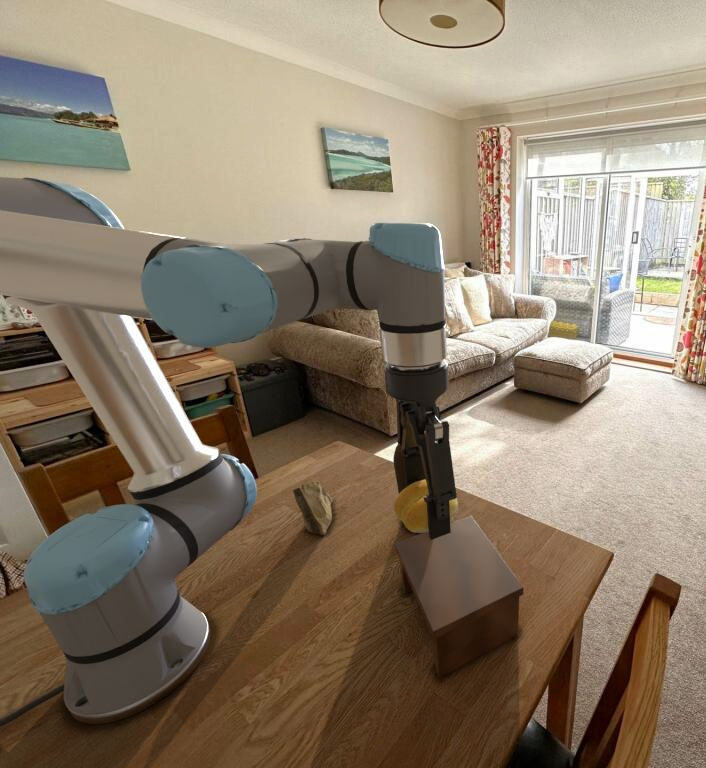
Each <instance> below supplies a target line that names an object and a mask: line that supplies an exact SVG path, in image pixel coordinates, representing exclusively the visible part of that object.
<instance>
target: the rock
mask: <svg viewBox="0 0 706 768" xmlns="http://www.w3.org/2000/svg"><path fill="white" fill-rule="evenodd" d="M292 493H293V496H294V499H295V502H296V504H297V506H298V508H299V511H300V512H301V516H302V519H303V523H304V525H305V529H306V530H307V531H308V532H310V533H313V534H314V535H322V536H325V535H326V534H327V531H328V528H329V526H330V525H331V523H332V518H333V515H332V506H331V505H332V503H333V498H332V497H331V495H330V494H329V493H328V491H327V490H326V489H325V488H324V487H322V486H321V484H320V481H319V480H315V481H307V482H304V483H303V484H301V486H298V487H295V488H293V489H292Z"/></svg>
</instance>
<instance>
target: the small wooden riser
mask: <svg viewBox="0 0 706 768" xmlns="http://www.w3.org/2000/svg"><path fill="white" fill-rule="evenodd" d="M450 529H451V533H448V534H446V535H443V536H440V537H438V538H435V539H432V540H431V539H430V537H429V532H425V533H418V534H416V535H413V536H411V537H407V538H405V539H403V540H400V541H397V542H395V543H394V551H395V553H396V555H397V557H398V559H399V567H400V574H401V584H402V585H401V586H402V589H403V592H404V594H408V593H410V592H413V595H414V597H415V600H416V601H417V604H418V606H419V609H420V611H421V613H422V616H423V619H424V620H425V623H426V625H427V627H428V630H429V632H430V635H431V637H432V639H433V651H434V664H435V671H436V673H437V676H438V678H439V679H440V678H442V677H444V676H446V675H448V674H450V673H451V672H453V671H454V670H457V669H459V668H460V667H462V666H464V665H466V664H469V663H470V662H471V661H473V660H475V659H476V658H479V657H480V656H482V655H485V654H486V653H488V652H489V651H491V650H493V649H495V648H496V647H499V646H500V645H502V644H504V643H505V642H508V641H510V640H511V639H513V638H515V637H516V636H518V635H519V618H520V617H519V616H520V613H519V612H520V597H522V596H524V586H523V584H522V583H521V581H519V579H518V578H517V576H516V575H515V574H514V572H513V570H512V569H511V568H510V567H509V565H508V564H507V563H506V561H505V560H504V558H503V557H502V556H501V554H500V553H499V552H498V550H497V549H496V547H495V546H494V545H493V543H492V542H491V541H490V539H489V538H488V537H487V535H486V533H485V532H484V531H483V530H482V529H481V527H480V525H479V524H478V523H477V521H476V520H475V518H473V516H472V515H469V516H466V517H463V518H460V519H458V520H454V521H452V522H451V523H450Z"/></svg>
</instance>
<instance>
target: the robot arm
mask: <svg viewBox="0 0 706 768" xmlns="http://www.w3.org/2000/svg"><path fill="white" fill-rule="evenodd" d="M445 271H446V266H445V263H444V256H443V245H442V236H441V232H440V229H438V227H436V226H435V225H434V224H432V223H421V222H373V223H372V224H371V225H370V227H369V237H368V240H360V241H349V240H330V239H329V240H328V239H312V238H306V237H303V238H290V239H282V240H281V239H280V240H277V241H274V242H266V243H250V244H249V243H247V244H246V243H244V244H240V243H239V244H238V243H237V244H236V243H225V242H224V243H223V242H217V241H212V240H211V241H210V240H203V239H198V238H197V239H196V238H188V237H183V236H176V235H169V234H161V233H155V232H150V231H149V232H148V231H142V230H137V229H135V230H134V229H129V228H125V227H124V225H123V224H122V222H121V220H120V219H119V218H118V216H117V215H116V214H115V212H113V211H112V209H111V208H110V207H109V206H108V205H107V204H105V203H104V202H103V201H101V200H100V198H98V197H96V196H95V195H93V194H91V193H89V192H87V191H85V190H84V189H82V188H81V187H77V186H74V185H71V184H68V183H62V182H55V181H48V180H44V179H40V178H35V177H23V178H20V177H6V176H0V295H1V296H2V298H3V299H4V300H5V302H6V303H8V304H10V305H12V306H16V307H19V308H21V309H24V310H28V311H29V312H31V313H32V314H33V315H34V316H35V318H36V320H37V322H38V323H39V324H40V326H41V328H42V330H43V331H44V332H45V335H46V336H47V337H48V339H49V341H50V342H51V344H52V345H53V347H54V349H55V350H56V351H57V353H58V355H59V356H60V358H61V359H62V361H63V363H64V364H65V365H66V368H67V369H68V370H69V372H70V374H71V375H72V377H73V378H74V380H75V382H76V384H77V385H78V387H79V388H80V389H81V391H82V393H83V394H84V396H85V398H86V399H87V401H88V402H89V404H90V406H91V407H92V408H93V410H94V412H95V413H96V415H97V417H98V418H99V419H100V421H101V423H102V424H103V426H104V428H105V429H106V430H107V433H108V434H109V436H110V437H111V439H112V440H113V442H114V443H115V445H116V446H117V448H118V450H119V451H120V453H121V455H122V456H123V457H124V460H125V461H126V463H127V465H128V466H129V468H130V469H131V470H132V472H133V475H132V478H131V479H130V481H129V482H128V484H127V486H126V487H127V491H128V492H129V493H130V495H131V496H132V498H133V500H134V501H135V503H134V504H131V503H123V504H114V505H109V506H105V507H102V508H99V509H98V510H96V512H94V513H89V512H88V513H86V514H83V515H80V516H79V517H77V518H74V519H73V520H70V521H69V522H68V523H66V524H64V525H62V526H61V527H60V528H58V529H56V530H55V531H54V532H52V533H51V534H49V536H47V537H46V538H45V539H44V540H43V541H42V542H41V543H40V544H38V546H37V547H36V548H34V550H33V551H32V553H31V554H30V556H29V557H28V559H27V561H26V563H25V568H24V570H23V581H24V584H25V587H26V590H27V592H28V597H29V601H30V604H31V605H32V607H33V608H34V609H35V610H36V611H37V612H38V613H39V615H40V616H41V619H42V620H43V622H44V623H45V625H46V626H47V628H48V630H49V631H50V633H51V635H52V636H53V638H54V640H55V641H56V643H57V645H58V647H59V648H60V650H61V652H62V653H63V655H64V657H65V660H66V661H65V670H64V671H65V672H64V683H63V684H62V685H60V686H58V687H56V688H54V689H52V690H50V691H49V692H47V693H45V694H43V695H41V696H39V697H38V698H36V699H34V700H32V701H30V702H29V703H27V704H25V705H23V706H22V707H20V708H19V709H17V710H15V711H14V712H11V713H9V714H8V715H6V716H4V717H2V718H0V727H3V726H4V725H6V724H8V723H11V722H12V721H14V720H16V719H18V718H19V717H21V716H22V715H24V714H26V713H27V712H29V711H31V710H32V709H34V708H36V707H37V706H39V705H41V704H43V703H45V702H46V701H47V702H48V701H49V700H50V699H52V698H54V697H56V696H57V695H60V694H61V693H63V702H64V704H65V706H66V708H67V711H69V713H70V715H71V716H72V717H73V718H74V719H75V720H76V721H78V722H80V723H83V724H88V725H103V724H109V723H113V722H118V721H120V720H124V719H127V718H129V717H131V716H134V715H136V714H138V713H140V712H142V711H144V710H146V709H148V708H149V707H151V706H153V705H155V704H156V703H157V702H159V701H161V700H162V699H163V698H165V697H166V696H167V695H169V694H171V693H172V692H173V691H174V690H175V689H177V688H178V687H179V686H180V685H181V684H182V683H183V682H184V681H185V680H187V678H188V677H189V676H190V675H191V674H193V672H194V671H195V669H197V667H198V666H199V664H201V662H202V660H203V658H204V657H205V655H206V653H207V651H208V648H209V647H210V643H211V635H212V633H211V628H210V624H209V622H208V619H207V617H206V615H205V614H204V613H203V612H202V611H201V610H200V609H198V608H197V607H195V606H194V605H193V604H192V603H191V602H189V601H188V600H187V599H185V598H184V597H183V596H181V594H180V592H179V589H178V587H177V583H176V582H175V580H176V578H178V577H179V576H180V575H181V574H182V573H183V572H184V571H185V570H187V568H189V567H190V566H191V565H192V564H194V562H196V561H197V560H198V559H199V558H200V557H201V556H203V555H204V554H205V553H206V552H208V550H209V549H211V548H212V547H213V546H214V545H215V544H217V543H218V542H219V541H220V540H221V539H222V538H223V537H224V536H226V535H227V534H228V533H229V532H230V531H232V530H234V529H236V527H238V525H239V524H240V523H241V522H242V520H244V518H245V517H247V515H248V514H249V513H250V512H251V511H252V510H253V508H254V506H255V504H256V501H257V496H258V488H257V482H256V478H255V476H254V475H253V473H252V472H251V470H250V468H249V467H248V466H247V465H246V464H245V463H243V462H242V463H240V459H238V458H237V457H235V456H233V455H230V454H226V453H221V451H220V449H219V448H218V447H215V446H210V445H207V444H204V443H203V442H202V441H201V439H200V437H199V435H198V433H197V431H196V430H195V428H194V426H193V424H192V422H191V421H190V419H189V417H188V416H187V414H186V412H185V410H184V408H183V406H182V404H181V403H180V400H179V399H178V397H177V395H176V394H175V392H174V390H173V388H172V386H171V384H170V383H169V381H168V379H167V377H166V375H165V373H164V372H163V371H162V368H161V366H160V365H159V362H158V361H157V359H156V357H155V356H154V354H153V352H152V350H151V349H150V346H149V344H148V343H147V341H146V339H145V338H144V335H143V334H142V332H141V330H140V328H139V326H138V325H137V323H136V321H135V319H134V318H136V319H143V320H147V321H148V320H149V321H153V322H154V323H156V325H157V326H158V327H159V328H160V329H161V330H162V331H163V332H164V333H166V334H169V335H172V336H174V337H175V338H176V339H177V340H178V341H179V342H180V343H182V344H184V345H187V346H190V347H194V348H200V349H201V348H202V349H203V348H204V349H210V348H211V349H212V348H217V347H220V346H224V345H228V344H238V343H244V342H247V341H250V340H252V339H254V338H256V337H258V336H260V335H262V334H264V333H268V332H270V331H273V330H275V329H276V330H277V329H279V328H281V327H284V326H286V325H290V324H292V323H294V322H298V321H301V320H305V319H308V318H311V317H313V316H317V315H320V314H322V313H325V312H328V311H331V310H332V311H333V310H362V311H376V313H377V316H378V323H379V326H378V327H379V328H378V329H379V339H380V347H381V356H382V361H384V362H385V365H383V371H384V380H385V382H384V383H385V390H386V393H387V395H389V396H390V397H391V398H393V399H395V401H396V426H397V428H396V434H397V435H396V436H397V440H396V442H397V445H398V444H399V446H401V445H402V448H401V452H402V454H403V455H405V456H406V457H403V461H404V471H405V482H406V487H407V486H409V485H410V484H412V483H414V482H417V481H421V480H425V478H426V483H427V488H428V492H429V494H428V495H426V497H423V498H424V501H425V503H426V502H427V515H428V528H429V537H430V539H431V540H432V539H435V538H438V537H440V536H443V535H446V534H448V533H451V529H450V508H449V501H450V500H453V499H456V498H457V499H458V497H457V495H458V494H457V488H456V481H455V474H454V467H453V458H452V452H451V450H452V449H451V443H450V423H449V421H448V420H446V419H445V420H441V417H442V415H441V410H440V406H439V405H438V404H437V400H438V399H439V398H440V397H441V396H442V395H443V396H444V395H445V393H446V392H447V391H448V390H449V388H450V387H449V386H450V382H449V381H450V380H449V378H450V377H449V363H448V361H446V358H447V356H448V346H447V339H448V338H449V337H450V331H449V330H448V329H447V325H446V324H447V318H446V296H445V295H446V291H445V289H446V288H445V287H446V286H445ZM423 435H425V436H426V437H425V438H422V436H423ZM419 451H420V453H419V454H417V452H419ZM424 473H425V474H424Z"/></svg>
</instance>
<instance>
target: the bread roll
mask: <svg viewBox="0 0 706 768" xmlns="http://www.w3.org/2000/svg"><path fill="white" fill-rule="evenodd" d="M428 494H429V492H428V488H427V483H426V480H421V481H417V482H414V483H412V484H410V485H409V486H407V487H406V488H405V489H403V490H402V491H401V492H400V493H398V494H397V496H396V498H395V500H394V504H393V508H394V513H395V515H396V517H397V518H398V519H399V520H400V521H401V522H402V524H403V523H404V524H403V526H404V525H405V526H404V527H405V529H407V531H409V532H411V533H414V534H415V533H418V534H421V533H425V532H429V528H428V515H427V502H426V503H425V501H424V498H423V497H426V495H428ZM449 508H450V523H452V522H454V521H455V518H456V517H457V514H458V512H459V502H458V497H457V498H456V499H453V500H450V501H449Z"/></svg>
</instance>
